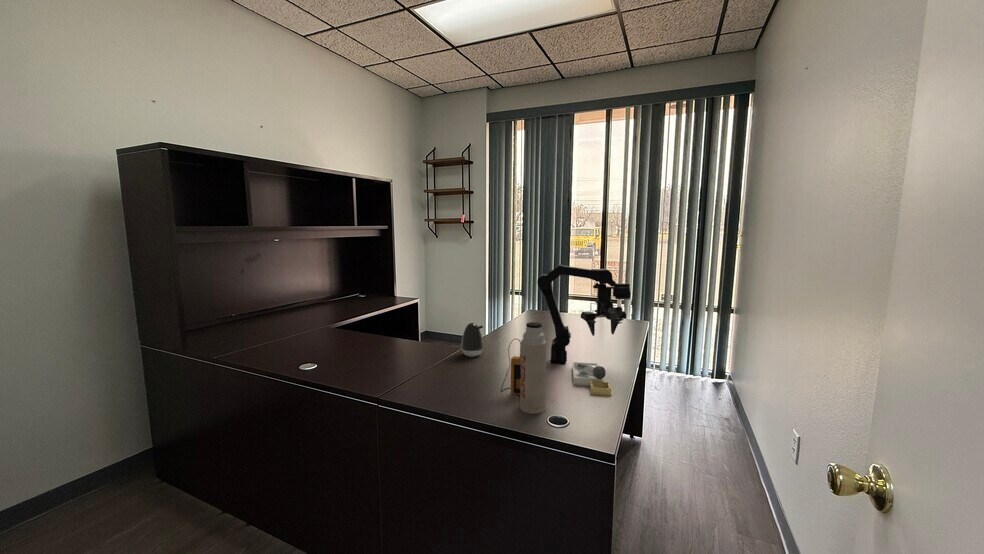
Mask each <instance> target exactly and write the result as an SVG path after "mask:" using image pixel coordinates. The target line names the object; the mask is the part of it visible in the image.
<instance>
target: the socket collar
mask: <svg viewBox="0 0 984 554" xmlns="http://www.w3.org/2000/svg"><path fill="white" fill-rule="evenodd" d="M589 391H590V395H591V396H594V395H595V396H606V397H607V396H608V397H610V396H612V386H611V384H610V381H606V380H605V381H603V380H602V381H590V386H589Z"/></svg>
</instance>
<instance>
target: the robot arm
mask: <svg viewBox="0 0 984 554" xmlns="http://www.w3.org/2000/svg"><path fill="white" fill-rule="evenodd" d="M612 273H613V272H611V271H610V270H609V269H607V268H594V269H593V268H591V269H590V268H589V269H588V268H582V267H577V266H568V265H564V264H558V265H557V266H556V267H554V268H553V269H551V271H549V272H547V273H544V274H540V275H539V277H538V279H537V286H538V288H539V290H540V291H541V294H542V295H543V296H544V298H545V301H546V304H547V307H548V310H549V315H550V316H551V319H552V323H553V325H554V332H555V334H554V335H555V338H553V340H552V341H551V346H550V364H556V365H557V364H560V365H566V362H567V361H568V353H567V352H568V351H567V350H566V349H567V348H566V347H567V346H569V344H571V343H570V342H571V338H572V333H571V332H570V329H569V325H567V326H565V325H564V322H563V319H562V317H561V314H560V311H559V307H558V304H557V300H556V298H555V295H554V290H553V288H554V287H553V283H552V282H554V281H555V280H556V279H557V278H559V277H560V276H561V275H564V276H571V277H578V278H583V279H590V280H592V281H595V282H596V283H594V285H592V288H593V289H596V290H597V294H596V297H597V298H596V300H595V303H596V309H595V310H594V312H592V311H589V310H588V311H582V312H581V313H580V318H581V319H582V320H583V321H585V322H586V324H587V326H588V328H589V331H590V333H591V336H595V330H596V329H595V327H596V326H595V324H596V322H597V321H596V319H598V318H606V319H607V320H610V332H611V335H615V332H616V329H617V328H618V325H619V323H621V321H624V320H625V319H627V313H626V311H624V310H623V307H622V306H617V307H616V306H615V307H614V302H613V301H612V297H614V298H615V300H628V301H629V300H631V294H632V293H631V287H630V283H628V282H624V283H617V282H616V281H615V280H614V279H613V274H612ZM607 284H608V285H609V286H608V285H607Z"/></svg>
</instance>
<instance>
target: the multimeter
mask: <svg viewBox="0 0 984 554" xmlns="http://www.w3.org/2000/svg"><path fill="white" fill-rule="evenodd" d="M514 340H515V338H513V339H512V340H511V341H510V343H509V345H508V349H507V350H508V351H507V352H508V354H510V347H511V344H512V343H513V342H514ZM516 340H517V341H519V343H520V345H519V346H520V348H519V349H520V350H519V356H518V355H517V356H516V355H514V356H512V357H511V358H510V356H508V361H509V363H510V366H509V367H508V369H507V372H506V375H505V377H504V380H503V383H502V385H501V388H500V392H503V391H505V390H508V389H510V394H511V395H519V396H520V380H521V340H520V339H519V338H516ZM509 371H510V387H507V388H504V389H503V387H504V384H505V381H506V378H507V376H508V373H509Z"/></svg>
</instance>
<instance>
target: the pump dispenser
mask: <svg viewBox="0 0 984 554" xmlns="http://www.w3.org/2000/svg"><path fill="white" fill-rule="evenodd" d="M483 328H484V325H479V326H478V325H477V323H474V322H469V323H468V324H467V325H466V327H465V328H464V331H463V334H462V337H461V343H460V349H461V351H462V353H463V354H464V355H465V356H467V357H468V356H469V357H470V358H475V356H476V357H477V356H479V355H481V354H482V352H483V349H484V342H483V337H482V333H481V329H483Z"/></svg>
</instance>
